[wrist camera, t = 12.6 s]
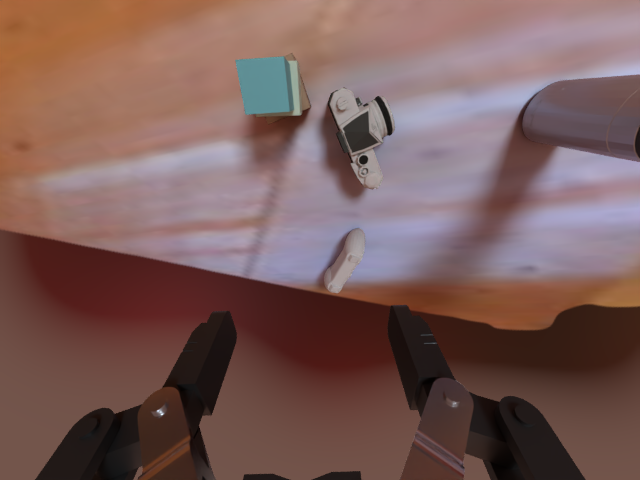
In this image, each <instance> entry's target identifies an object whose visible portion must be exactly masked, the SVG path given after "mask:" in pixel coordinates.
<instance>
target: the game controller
mask: <svg viewBox="0 0 640 480" xmlns="http://www.w3.org/2000/svg"><path fill="white" fill-rule="evenodd" d="M364 248H365V234H364V231H363V230H362V229H360V228H356V229H354V230H352V231H351V232H350V233H349V235H348V236H347V238H346V241H345V246H344V248H343V250H342V252H341V253H340V255H339V257H338V258H337V260H336V261H335V263H334V265H331V266H330V267H329V268H328V269H327V270H326V273H325V275H324V283H325V287H326V288H327V290H328V291H330V292H333V293H338V292H339V291H340V290H341V289H342V286H343V285H344V283H345V282H346V280H347V279H348V277H350V276H351V274H352V272H353V270H354V269H355V267H356V266H357V264H359V263H360V262H361V259H362V257H363V254H364Z"/></svg>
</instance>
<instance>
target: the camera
mask: <svg viewBox="0 0 640 480" xmlns="http://www.w3.org/2000/svg"><path fill="white" fill-rule="evenodd" d="M361 104H362V102H361V99H360V97H358V98H355V97H354V95H353V92H352V91H349V90H347V89H346V88H342V89H339V90H336V91H335V92H333V93H331V95H330V98H329V101H328V106H329V108H330V111H331V113H332V116H333V118H334V121H335V123H336V125H337V128H338V130H339V132H338V133H337V134H336V135H337V137H338V140H339V142H340V145H341V147H342V149H343V152H344V153H346V152H348V155H349V157H350V159H351V162H352V163H350V164H351V166H352V168H353V170H354V172H355V174H356V176H357V178H358V179H359V181H360V182H361V184H362V185H363V186H364V187H365V188H369V189H374V188H376V189H377V188H378V186H380V184H381V182H382V180H383V176H382V173H381V170H380V167H379V164H378V162H377V159H376V156H375V153H374V150H373V147H375V146H377V145H380V144H382V143H383V140H382V138H383V136H384V137H385V136H387V135H391V134H392V133H393V132H394V130H395V125H394V119H393V115H392V113H391V110H390V107H389V105H388V103H387V101H386V100H385V98H384V97H382V96H381V97H379V96H377V97H376V98H375V99H374V100H372V101H371V102H368V103H366V104H365V105H361Z"/></svg>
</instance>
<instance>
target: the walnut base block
mask: <svg viewBox="0 0 640 480" xmlns="http://www.w3.org/2000/svg"><path fill="white" fill-rule="evenodd" d="M284 57H285V59H286V60H287V61H296V59H295V57H294V55H293V53H291V54H289V55H287V56H284ZM300 83H301V100H302V111H303V110H305V109H308V108H310V107H311V105H310V102H309V99H308V96H307V93H306V90H305V86H304V83H303V80H302V77H301V74H300ZM285 117H288V116H265V118H266V120H267V123H268V124H271V123H273V122H276V121H278V120H281V119H283V118H285Z"/></svg>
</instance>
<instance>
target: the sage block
mask: <svg viewBox="0 0 640 480" xmlns="http://www.w3.org/2000/svg"><path fill="white" fill-rule="evenodd" d="M288 62H289V64H290V71H291V82H292V92H293V102H294V110H293V111H290V112H277V113H262V114H256V117H265V116H296V115H301V114H302V100H301V83H300V66H299V64H298V62H297V61H288Z"/></svg>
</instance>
